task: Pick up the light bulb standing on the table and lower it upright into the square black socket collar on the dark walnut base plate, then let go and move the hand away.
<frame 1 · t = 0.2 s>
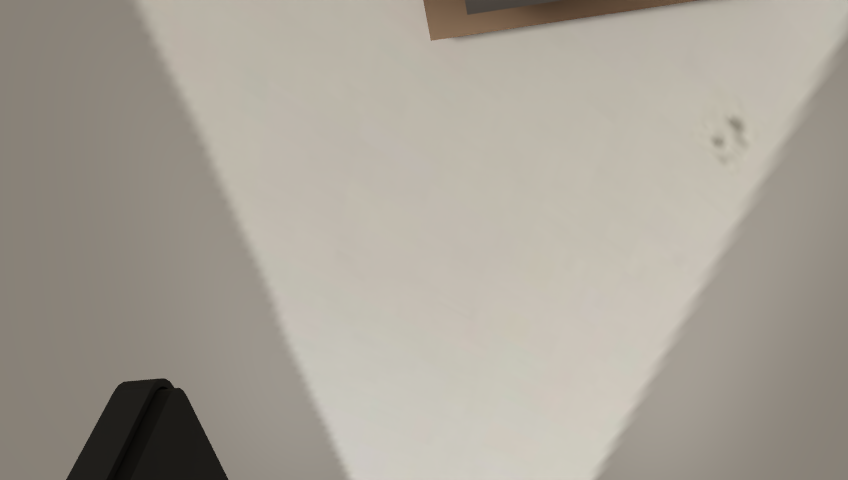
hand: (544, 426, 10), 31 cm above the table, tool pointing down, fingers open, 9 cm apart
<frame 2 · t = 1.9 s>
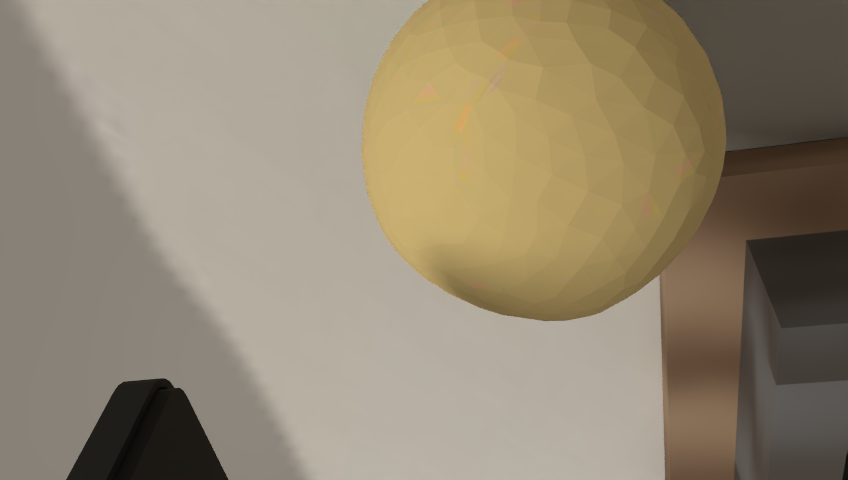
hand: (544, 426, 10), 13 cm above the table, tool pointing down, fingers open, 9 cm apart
light bulb: (528, 2, 20), on the table
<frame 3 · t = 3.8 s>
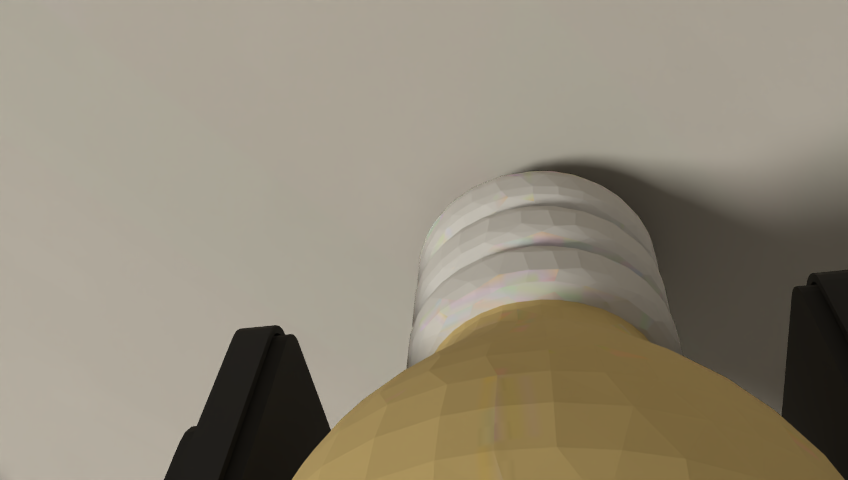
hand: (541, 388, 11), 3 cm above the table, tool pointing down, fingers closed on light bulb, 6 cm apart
light bulb: (533, 242, 14), on the table, touching gripper
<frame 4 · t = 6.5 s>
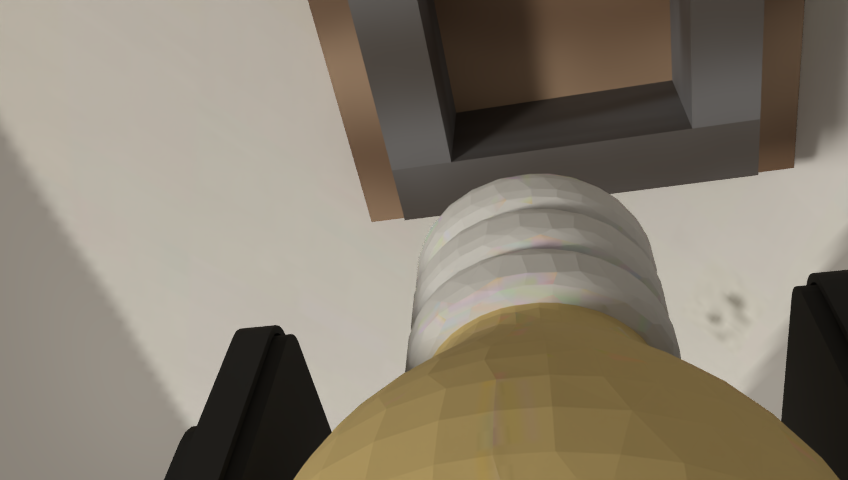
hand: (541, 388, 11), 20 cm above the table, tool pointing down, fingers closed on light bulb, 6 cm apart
light bulb: (531, 245, 14), point 17 cm above the table, touching gripper
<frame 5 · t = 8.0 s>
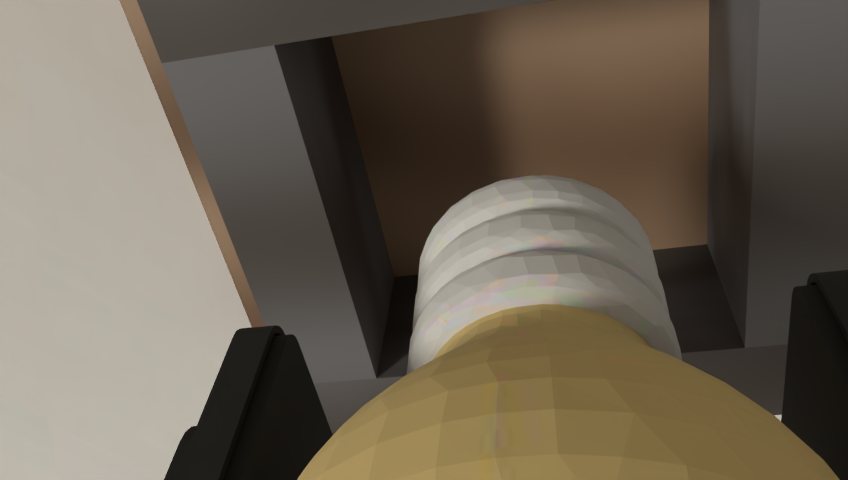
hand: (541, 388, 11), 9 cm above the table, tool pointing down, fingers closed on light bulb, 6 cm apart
lamp socket: (526, 98, 19), on the table
light bulb: (532, 246, 14), point 6 cm above the table, touching gripper
when the fingers open (6 cm above the table, at t = 9.2 s): light bulb drops 2 cm, resting on lamp socket.
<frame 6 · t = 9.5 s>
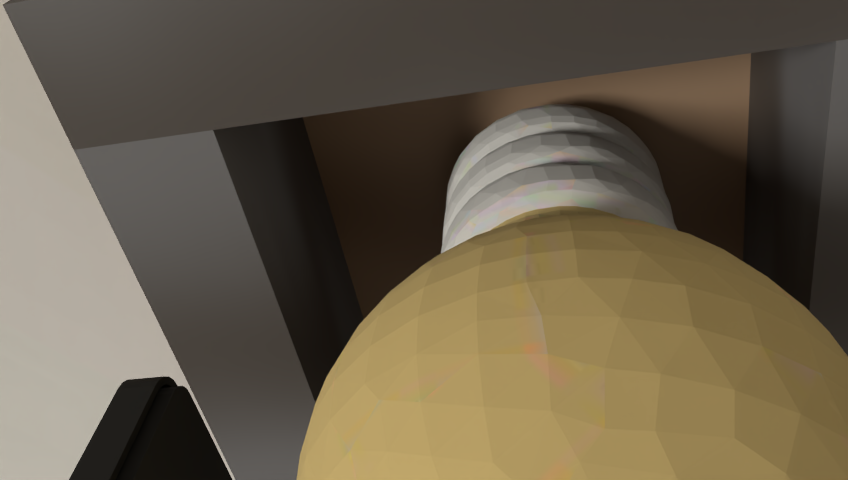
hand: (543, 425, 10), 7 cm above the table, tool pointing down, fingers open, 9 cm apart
lamp socket: (528, 163, 16), on the table
light bulb: (550, 177, 15), point 1 cm above the table, touching lamp socket
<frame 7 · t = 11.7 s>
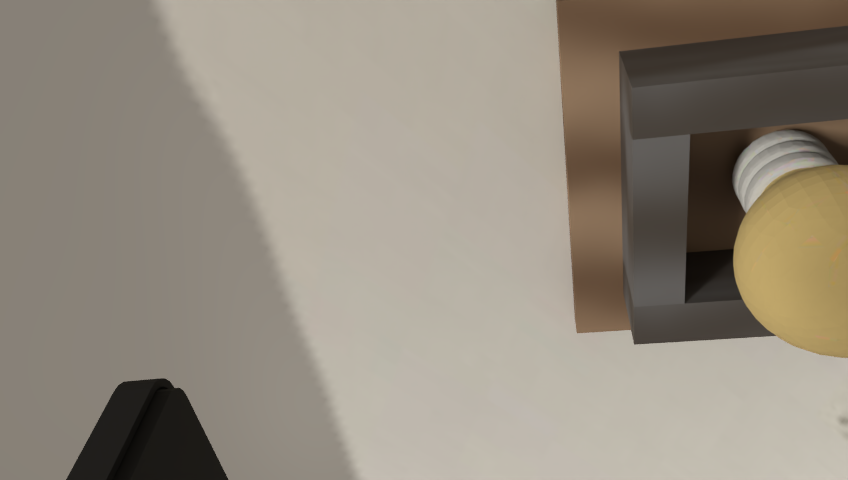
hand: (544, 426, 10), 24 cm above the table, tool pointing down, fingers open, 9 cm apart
lamp socket: (757, 156, 34), on the table
light bulb: (774, 162, 33), point 1 cm above the table, touching lamp socket
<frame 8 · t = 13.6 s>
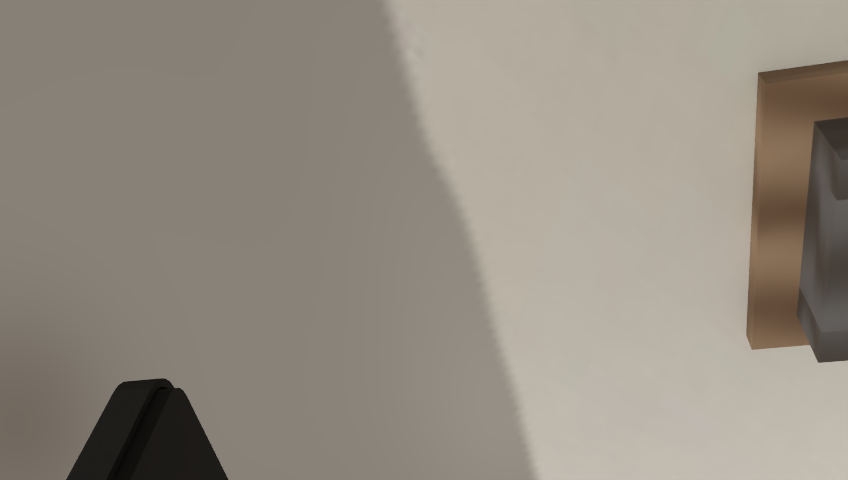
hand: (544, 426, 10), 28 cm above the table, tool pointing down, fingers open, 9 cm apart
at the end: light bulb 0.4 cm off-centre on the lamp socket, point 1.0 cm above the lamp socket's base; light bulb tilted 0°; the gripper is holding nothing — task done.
